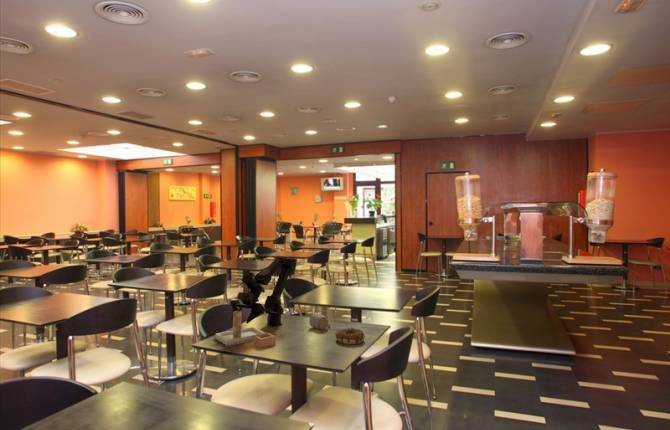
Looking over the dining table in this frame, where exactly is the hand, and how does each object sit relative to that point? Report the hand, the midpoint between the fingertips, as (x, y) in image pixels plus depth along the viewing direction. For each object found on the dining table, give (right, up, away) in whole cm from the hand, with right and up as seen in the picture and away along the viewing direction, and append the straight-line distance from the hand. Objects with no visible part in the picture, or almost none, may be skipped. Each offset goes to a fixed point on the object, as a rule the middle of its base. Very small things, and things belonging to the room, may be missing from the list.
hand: (239, 321), depth 203 cm
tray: (+1, -8, +1) cm, 8 cm away
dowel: (-1, -7, -1) cm, 7 cm away
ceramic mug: (+39, -9, +20) cm, 44 cm away
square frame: (+13, -8, -8) cm, 17 cm away
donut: (+53, -9, -2) cm, 54 cm away
